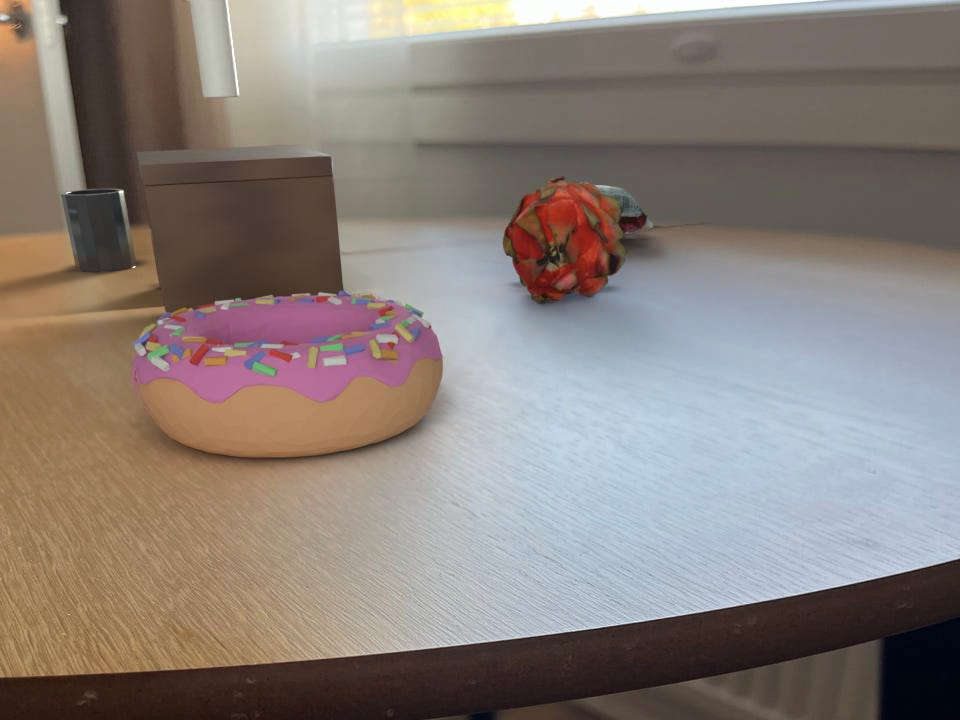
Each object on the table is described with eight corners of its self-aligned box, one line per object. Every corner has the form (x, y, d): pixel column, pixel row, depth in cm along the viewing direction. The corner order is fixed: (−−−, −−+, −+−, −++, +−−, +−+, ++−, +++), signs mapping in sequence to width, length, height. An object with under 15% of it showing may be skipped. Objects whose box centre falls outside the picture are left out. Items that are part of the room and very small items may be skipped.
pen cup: (76, 279, 86) (59, 196, 83) (78, 270, 91) (62, 190, 87) (138, 275, 88) (123, 192, 85) (137, 266, 92) (123, 187, 89)
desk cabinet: (168, 329, 68) (140, 165, 64) (160, 292, 80) (136, 152, 75) (345, 313, 71) (331, 155, 67) (312, 280, 83) (299, 144, 78)
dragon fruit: (587, 300, 81) (561, 359, 72) (499, 234, 79) (462, 286, 70) (654, 209, 76) (636, 261, 67) (562, 136, 74) (530, 179, 65)
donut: (429, 374, 57) (425, 279, 54) (462, 458, 44) (458, 340, 42) (164, 390, 55) (147, 293, 53) (120, 482, 43) (95, 361, 40)
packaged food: (524, 235, 102) (524, 181, 100) (643, 232, 102) (646, 178, 99) (524, 250, 95) (524, 192, 92) (653, 247, 94) (656, 189, 92)
